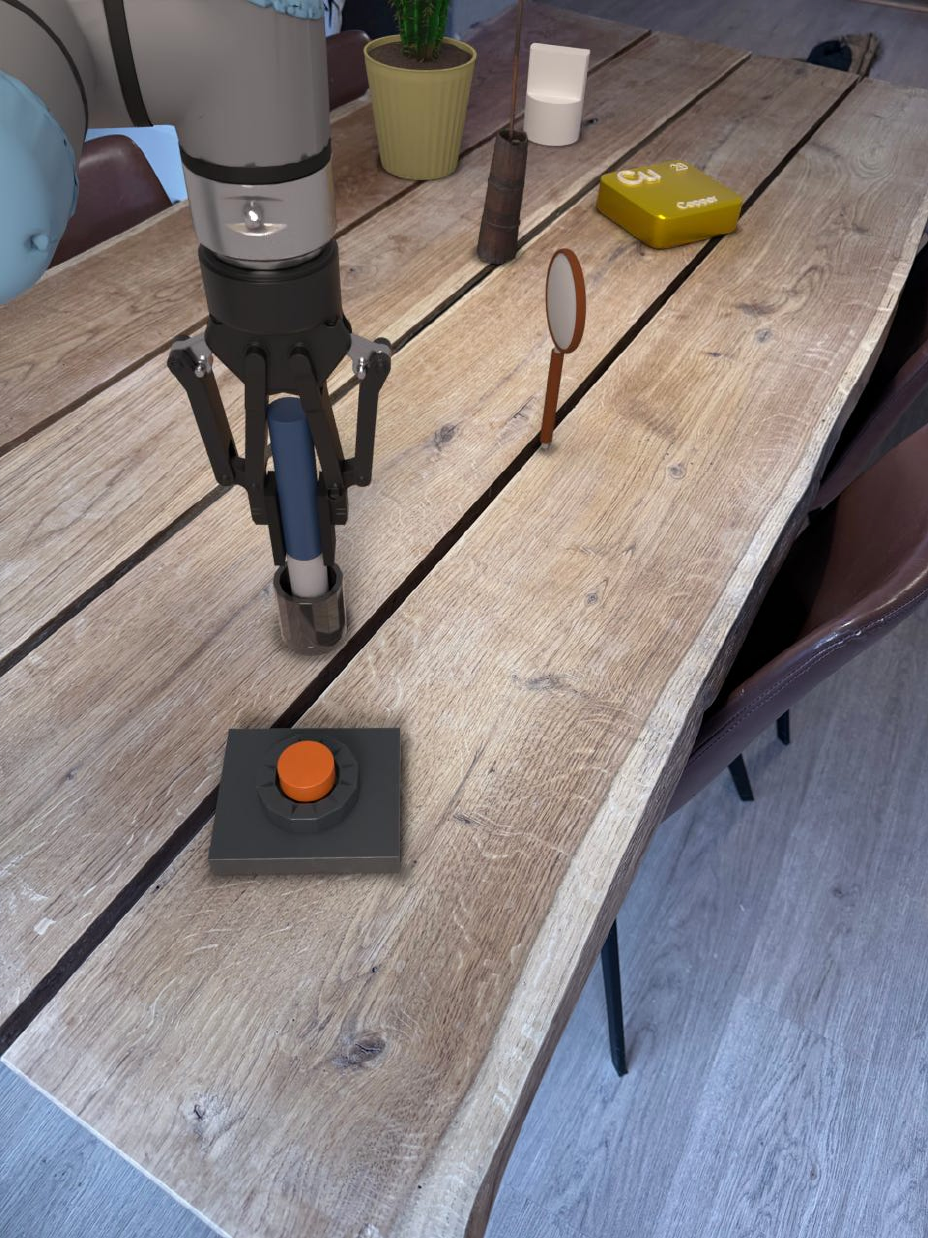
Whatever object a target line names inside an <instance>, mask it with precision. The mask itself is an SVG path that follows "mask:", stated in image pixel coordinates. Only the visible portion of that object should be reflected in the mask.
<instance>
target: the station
mask: <svg viewBox="0 0 928 1238" xmlns="http://www.w3.org/2000/svg"><path fill="white" fill-rule="evenodd" d="M401 731H402V730H401V727H315V728H314V727H313V728H312V727H309V728H308V727H306V728H305V727H303V728H301V727H300V728H299V727H298V728H297V727H296V728H291V727H290V728H229V729H228V732H227V738H226V745H225V751H224V757H223V764H222V769H221V775H220V781H219V788H218V793H217V794H218V795H217V800H216V807H215V813H214V817H213V825H212V831H211V832H212V833H211V838H210V843H209V849H208V856H207V862H208V864H209V867H210V870H211V873H212V875H213V876H217V877H218V876H267V875H268V876H271V875H273V876H274V875H276V876H278V875H279V876H280V875H332V874H333V875H334V874H335V875H338V874H339V875H341V874H342V875H343V874H389V873H390V874H395V873H396V874H398V873H400V871H401V867H400V865H401V864H400V863H401V861H400V860H401V859H400V857H401V855H400V854H401V853H400V852H401V764H402V763H401V761H402V759H401V755H402V754H401V753H402V752H401V751H402V750H401V749H402V740H401V739H402V738H401V736H402V734H401ZM301 741H315V742H319V743H321V744H323V745H324V746H326V747H327V748H328V749H329V750H330V751H331V753H332V755H333V758H334V765H335V774H336V778H335V783H334V785H333V787H332V789H331V790H330V791H329V792H328V793H327V794H326V795H325V796H323V797H322V798H320V799H318V800H315V801H310V802H301V801H297V800H294V799H292V798H290V797H289V796H287V795H286V794H285V793H284V791H283V790H282V787H281V784H280V779H279V774H278V768H277V766H278V760H279V758H280V756H281V754H282V753H283V752H284V751H285V750H286V749H287V748H288V747H289V746H291V745H293V744H295V743H297V742H301Z"/></svg>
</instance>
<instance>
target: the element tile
mask: <svg viewBox="0 0 928 1238" xmlns="http://www.w3.org/2000/svg"><path fill="white" fill-rule="evenodd" d="M743 204H744V198H743V196H742V195H740V194H739V192H736V191H734V190H733V189H731V188H730V187H728V186H726V185H725V184H723V183H721V182H719V181H718V180H716V179H714V178H713V177H711V176H709V175H708V174H706V173H705V172H703V171H701V170H700V169H698V168H696V167H694V166H693V165H692V164H690V163H688V162H686V161H683V160H681V159H674V160H668V161H663V162H659V163H653V164H649V165H642V166H637V167H633V168H629V169H624V170H618V171H614V172H613V171H612V172H608V173H604V174H603V175H602V176H600V180H599V186H598V192H597V200H596V208H597V210H598V212H600V213H601V214H602V215H604V216H605V217H607V218H608V219H610V220H611V221H612V222H613V223H615V224H617V225H618V226H619V227H621V228H622V229H624V230H625V231H626V232H628V233H629V234H631V235H632V236H633V237H635V238H636V239H637V240H639V241H640V242H641V243H643V244H644V245H646V246H647V247H650V248H653V249H658V250H664V249H670V248H674V247H679V246H682V245H686V244H691V243H694V242H699V241H703V240H707V239H711V238H715V237H719V236H720V237H721V236H723V235H728V234H731V233H733V232H734V231H735V230H736V229H737V226H738V222H739V218H740V215H741V211H742V207H743Z"/></svg>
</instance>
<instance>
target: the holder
mask: <svg viewBox="0 0 928 1238" xmlns="http://www.w3.org/2000/svg"><path fill="white" fill-rule="evenodd" d="M327 576H328V586H329V592H328V593H326V594H325V595H323V596H320V597H317V598H313V599H299V598H295V597H292V590H291V583H290V576H289V569H288V562H287V560H286V562H285V566H278V567H277V569H276V570H275V572H274V573H273V579H272V587H273V593H274V599H275V605H276V606H275V607H276V612H277V613H276V614H277V619H278V624H279V629H280V634H281V638H282V641H283V643H284V645H286V647H287V648H289V649H290V650H292V651H293V652H295V653H297V654H300V655H303V656H319V655H320V656H321V655H324V654H328V653H330V652H332V651H334V650H335V649H337V648H338V647H339V646H341V644H342V643H343V642H344V640H345V639H346V636H347V632H348V624H347V618H348V617H347V607H346V605H347V604H346V591H345V581H344V573H343V571H342V569H341V567H340V565H339V564H338V563H337V562H335V561H334V566H327Z"/></svg>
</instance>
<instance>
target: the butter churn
mask: <svg viewBox="0 0 928 1238" xmlns="http://www.w3.org/2000/svg"><path fill="white" fill-rule="evenodd" d="M523 6H524V0H518V1H517V13H516V23H515V24H516V27H515V43H514V59H513V75H512V76H513V77H512V88H511V99H510V100H511V101H510V105H511V106H510V116H509V128H507V129H506V128H501V129H499V130H497V132H496V135H495V139H494V145H493V152H492V158H491V164H490V171H489V175H488V177H487V187H486V192H485V193H486V194H485V200H484V205H483V212H482V215H481V216H482V217H481V222H480V226H479V227H480V228H479V232H478V238H477V245H476V253H477V257H478V259H479V260H481V261H483V262H486V263H488V264H493V265H494V264H495V265H503V264H504V263H507V262H510V261H512V260H514V259H516V257H517V250H518V240H519V232H520V231H519V230H520V227H521V224H522V223H521V211H522V205H523V196H524V195H523V194H524V187H525V183H526V182H525V179H526V171H527V162H528V161H527V160H528V153H529V152H528V149H529V148H528V147H529V144H530V143H529V140H528V137H527V133H526V132H525V131H523V130H518V129H515V121H516V114H515V112H516V111H517V110H516V100H517V89H518V85H517V84H518V73H519V72H518V71H519V58H520V50H521V32H522V20H523Z"/></svg>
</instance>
